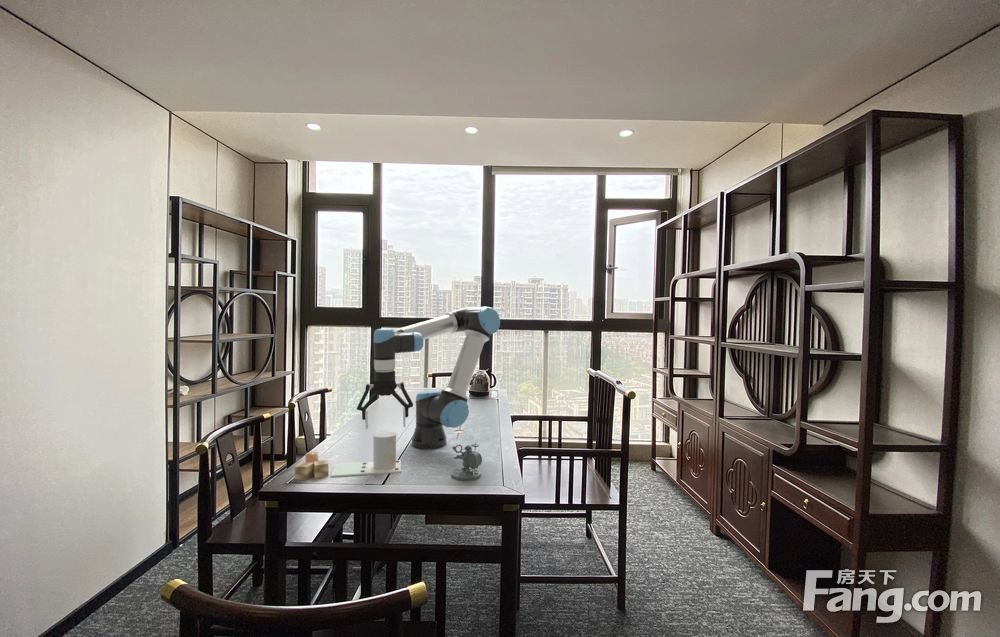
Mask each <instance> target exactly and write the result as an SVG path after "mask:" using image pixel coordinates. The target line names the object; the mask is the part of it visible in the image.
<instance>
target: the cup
mask: <svg viewBox="0 0 1000 637" xmlns="http://www.w3.org/2000/svg"><path fill="white" fill-rule="evenodd" d="M372 452H373V460H372V462H373V468H374V469H376V470H389V469H392V468H394V467H396V460H397V432H394V431H389V430H388V431H386V430H385V431H384V430H383V431H378V432H375V433H374V434H373V451H372Z"/></svg>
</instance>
